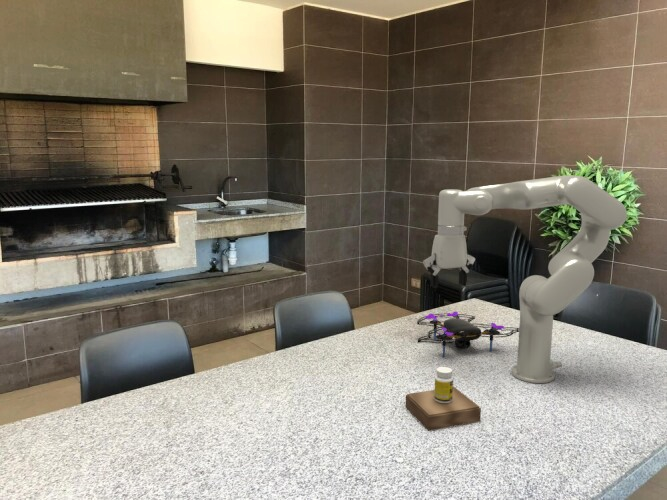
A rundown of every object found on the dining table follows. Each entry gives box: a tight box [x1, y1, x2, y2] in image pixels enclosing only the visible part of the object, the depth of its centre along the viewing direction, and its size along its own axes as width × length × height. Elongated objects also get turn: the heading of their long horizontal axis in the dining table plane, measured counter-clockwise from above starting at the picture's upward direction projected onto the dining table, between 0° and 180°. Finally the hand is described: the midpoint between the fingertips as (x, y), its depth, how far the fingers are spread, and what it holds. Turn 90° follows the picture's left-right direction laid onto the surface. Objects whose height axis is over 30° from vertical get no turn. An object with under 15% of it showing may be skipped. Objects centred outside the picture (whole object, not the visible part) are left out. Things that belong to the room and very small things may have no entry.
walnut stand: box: [405, 386, 482, 431], centre depth 138 cm, size 15×13×4 cm
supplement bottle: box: [433, 366, 454, 403], centre depth 137 cm, size 5×5×8 cm
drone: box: [416, 311, 519, 358], centre depth 189 cm, size 40×10×28 cm
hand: (448, 286), depth 160 cm, fingers open, 9 cm apart
